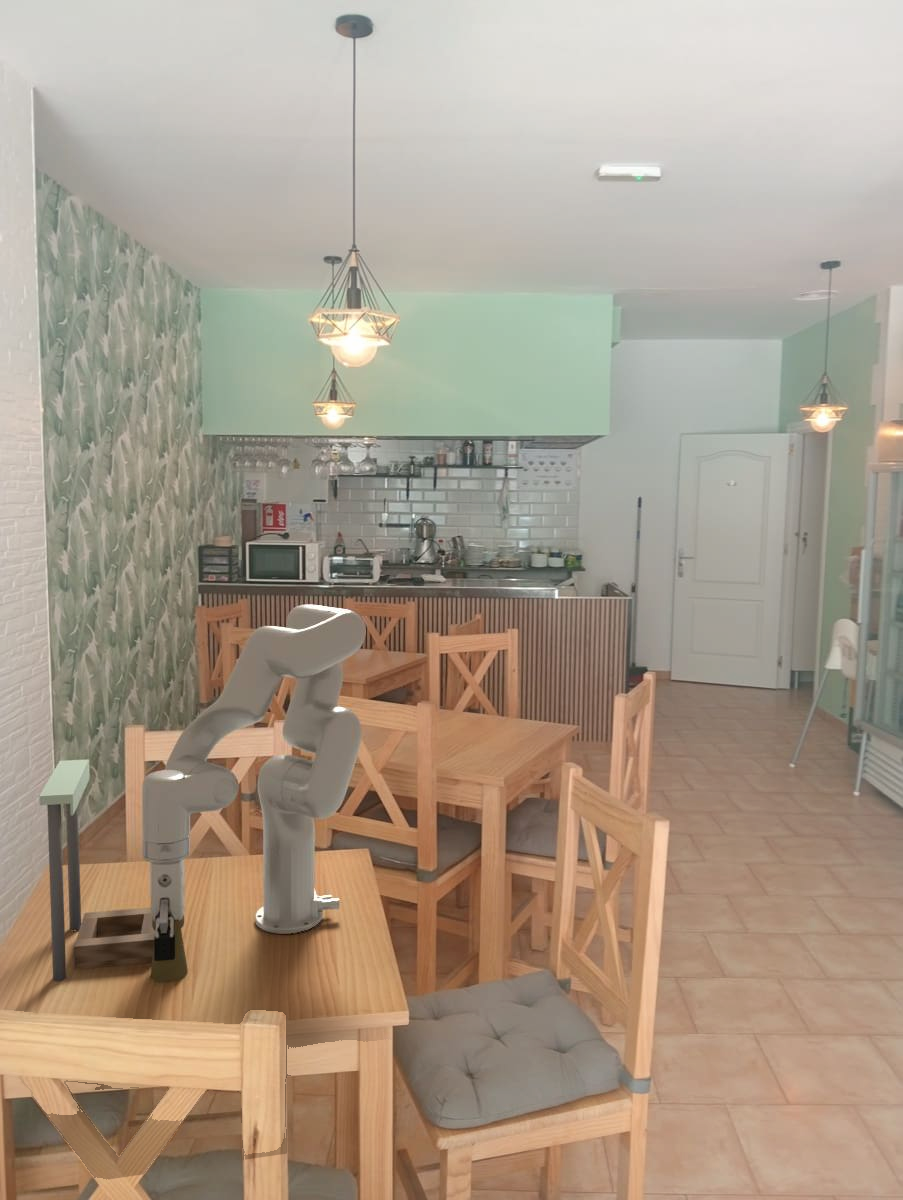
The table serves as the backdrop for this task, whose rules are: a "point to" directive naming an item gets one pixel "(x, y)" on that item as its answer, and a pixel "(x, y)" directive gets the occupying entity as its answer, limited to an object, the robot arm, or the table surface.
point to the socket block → (114, 938)
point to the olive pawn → (171, 968)
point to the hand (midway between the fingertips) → (166, 945)
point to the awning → (61, 790)
